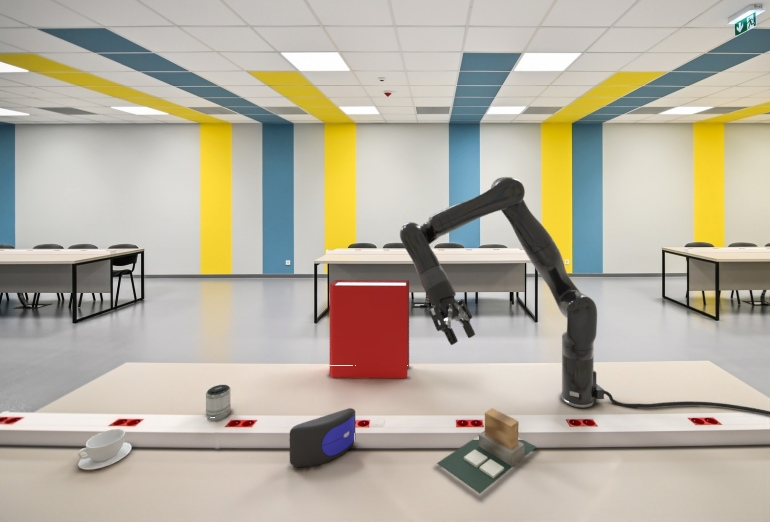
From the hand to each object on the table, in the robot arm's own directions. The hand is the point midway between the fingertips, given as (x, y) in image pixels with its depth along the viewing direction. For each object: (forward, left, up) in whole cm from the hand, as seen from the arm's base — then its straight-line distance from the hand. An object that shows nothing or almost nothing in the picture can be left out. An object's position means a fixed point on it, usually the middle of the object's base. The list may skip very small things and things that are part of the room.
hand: (463, 339), depth 107 cm
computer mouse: (+36, +2, -25) cm, 44 cm away
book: (+23, -40, -25) cm, 53 cm away
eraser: (-6, +11, -24) cm, 27 cm away
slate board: (-3, +12, -25) cm, 28 cm away
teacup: (+88, -8, -25) cm, 92 cm away
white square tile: (+1, +13, -24) cm, 27 cm away
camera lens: (+67, -22, -25) cm, 75 cm away
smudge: (-2, +17, -24) cm, 29 cm away
